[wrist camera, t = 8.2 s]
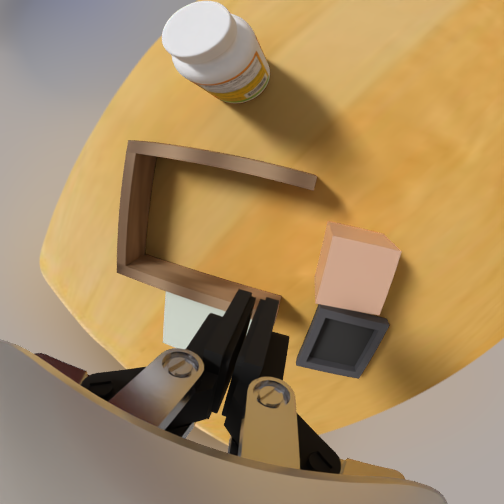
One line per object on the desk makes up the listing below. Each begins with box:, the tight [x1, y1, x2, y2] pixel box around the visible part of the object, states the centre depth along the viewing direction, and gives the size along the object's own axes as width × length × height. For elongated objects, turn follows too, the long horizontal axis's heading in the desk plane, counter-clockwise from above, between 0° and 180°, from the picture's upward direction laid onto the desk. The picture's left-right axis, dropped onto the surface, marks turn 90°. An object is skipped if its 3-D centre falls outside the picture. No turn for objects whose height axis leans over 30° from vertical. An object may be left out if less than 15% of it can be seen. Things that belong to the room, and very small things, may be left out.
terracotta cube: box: [315, 221, 401, 315], centre depth 20 cm, size 5×5×5 cm
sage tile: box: [163, 291, 252, 349], centre depth 26 cm, size 9×8×2 cm
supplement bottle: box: [162, 1, 270, 103], centre depth 15 cm, size 5×5×10 cm
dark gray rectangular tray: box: [296, 304, 389, 379], centre depth 24 cm, size 7×7×1 cm
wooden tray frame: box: [117, 140, 317, 326], centre depth 22 cm, size 15×12×4 cm
